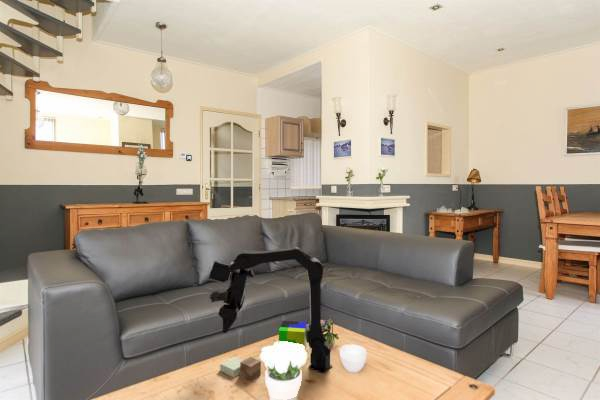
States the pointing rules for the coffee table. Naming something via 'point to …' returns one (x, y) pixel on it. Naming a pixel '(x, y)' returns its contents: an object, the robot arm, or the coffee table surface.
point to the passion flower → (328, 331)
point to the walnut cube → (250, 368)
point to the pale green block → (231, 366)
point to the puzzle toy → (293, 332)
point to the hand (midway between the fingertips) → (227, 327)
